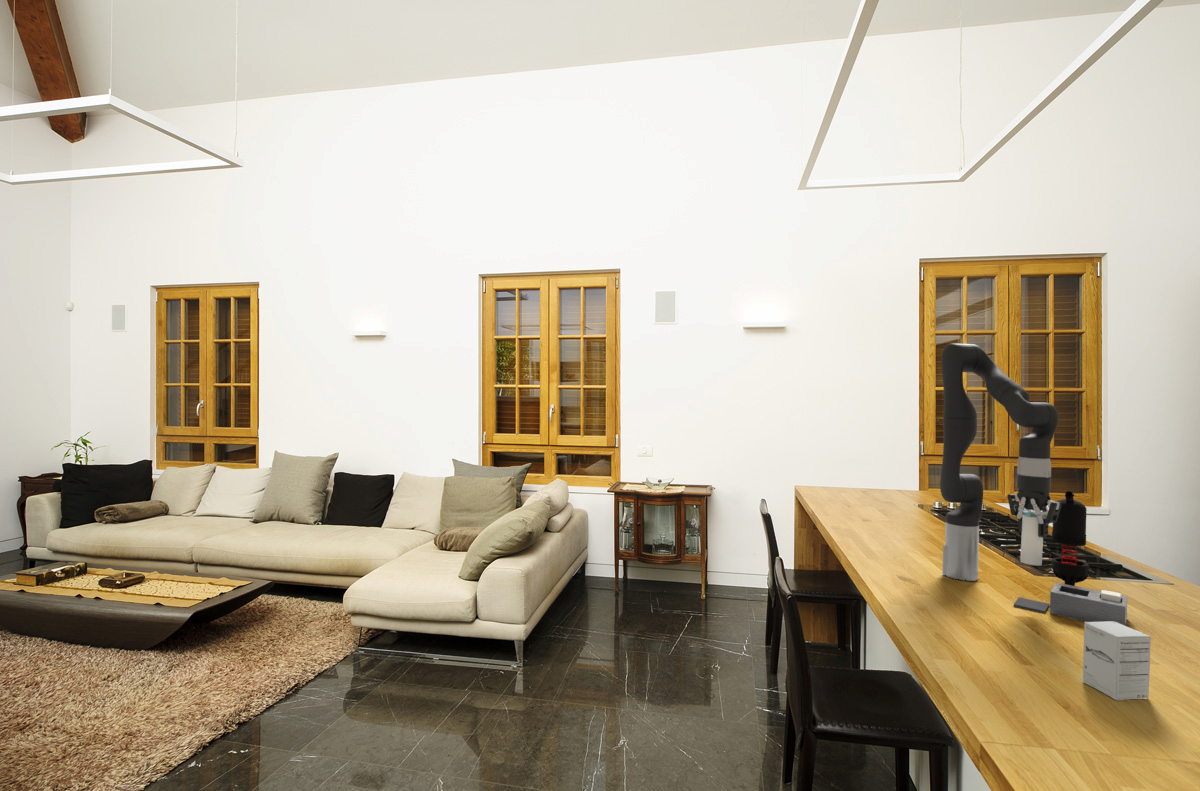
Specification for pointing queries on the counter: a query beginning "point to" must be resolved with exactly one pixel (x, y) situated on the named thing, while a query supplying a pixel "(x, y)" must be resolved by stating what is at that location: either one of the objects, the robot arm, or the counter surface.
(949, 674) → the counter surface
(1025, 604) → the mat
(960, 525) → the robot arm
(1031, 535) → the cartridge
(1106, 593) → the off-white cube
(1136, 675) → the supplement box
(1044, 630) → the counter surface
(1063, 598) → the housing
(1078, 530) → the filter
